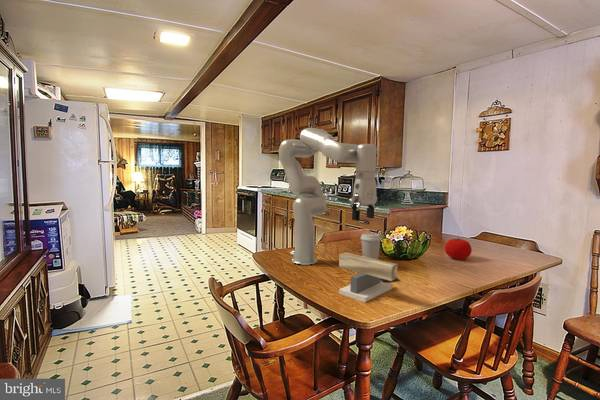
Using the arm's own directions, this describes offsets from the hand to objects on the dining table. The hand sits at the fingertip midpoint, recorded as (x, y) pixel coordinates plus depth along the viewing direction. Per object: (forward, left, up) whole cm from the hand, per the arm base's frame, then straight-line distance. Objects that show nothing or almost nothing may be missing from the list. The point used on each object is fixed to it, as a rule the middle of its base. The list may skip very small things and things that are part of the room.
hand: (363, 218), depth 127 cm
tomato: (+16, +62, -25) cm, 69 cm away
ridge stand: (+8, -9, -25) cm, 28 cm away
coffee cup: (-8, +19, -25) cm, 32 cm away
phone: (+3, +10, -26) cm, 27 cm away
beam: (+8, -9, -18) cm, 22 cm away
